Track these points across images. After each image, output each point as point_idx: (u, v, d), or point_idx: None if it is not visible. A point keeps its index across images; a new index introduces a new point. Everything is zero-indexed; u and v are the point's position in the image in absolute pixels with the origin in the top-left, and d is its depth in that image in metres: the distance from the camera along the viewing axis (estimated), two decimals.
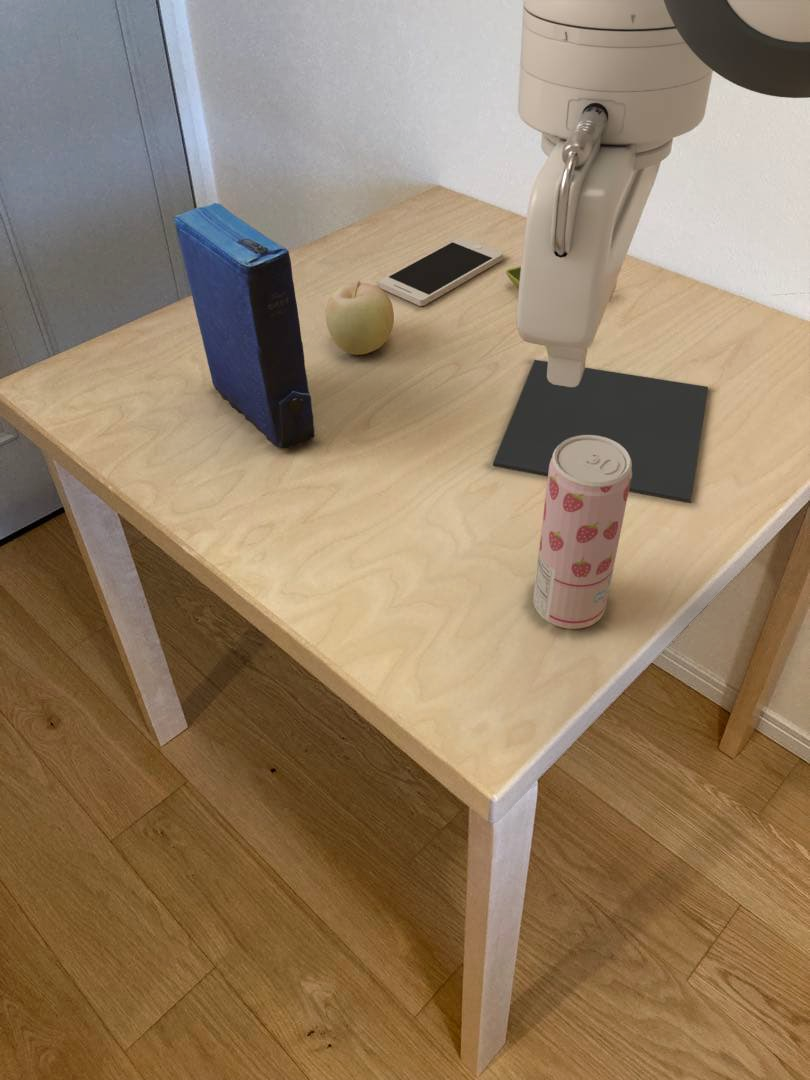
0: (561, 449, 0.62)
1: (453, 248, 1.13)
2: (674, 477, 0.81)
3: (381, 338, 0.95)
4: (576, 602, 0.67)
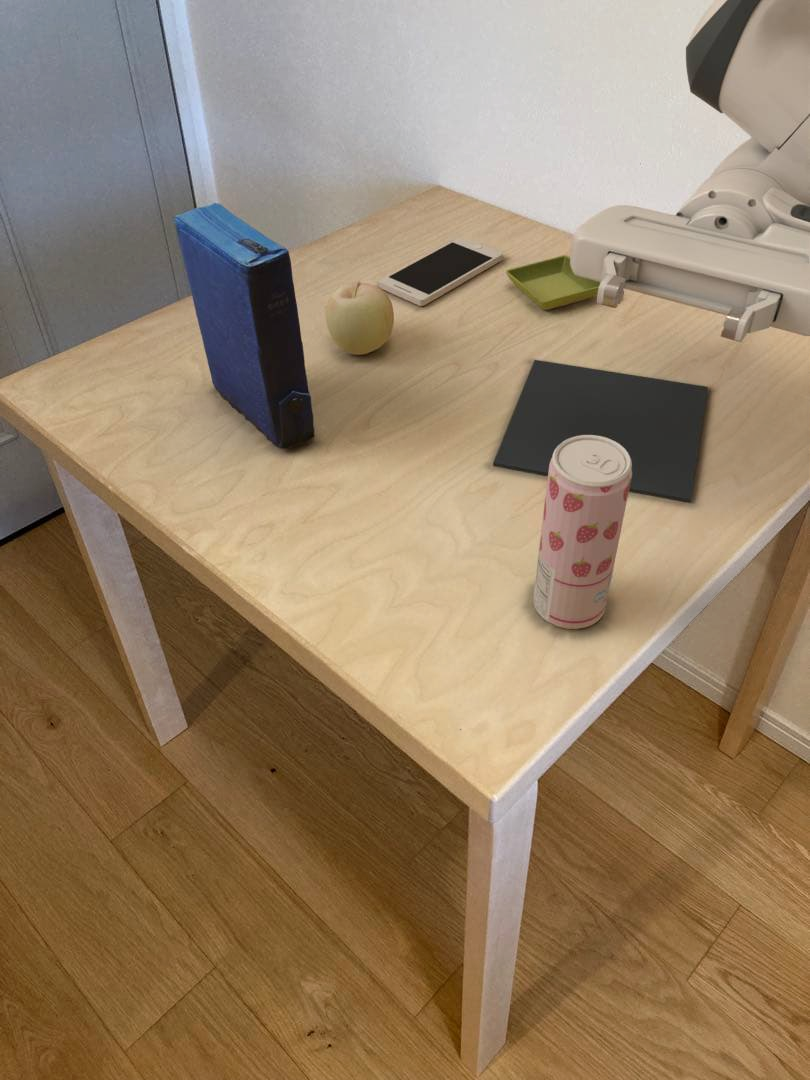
0: (561, 449, 0.62)
1: (453, 248, 1.13)
2: (674, 477, 0.81)
3: (381, 338, 0.95)
4: (576, 602, 0.67)
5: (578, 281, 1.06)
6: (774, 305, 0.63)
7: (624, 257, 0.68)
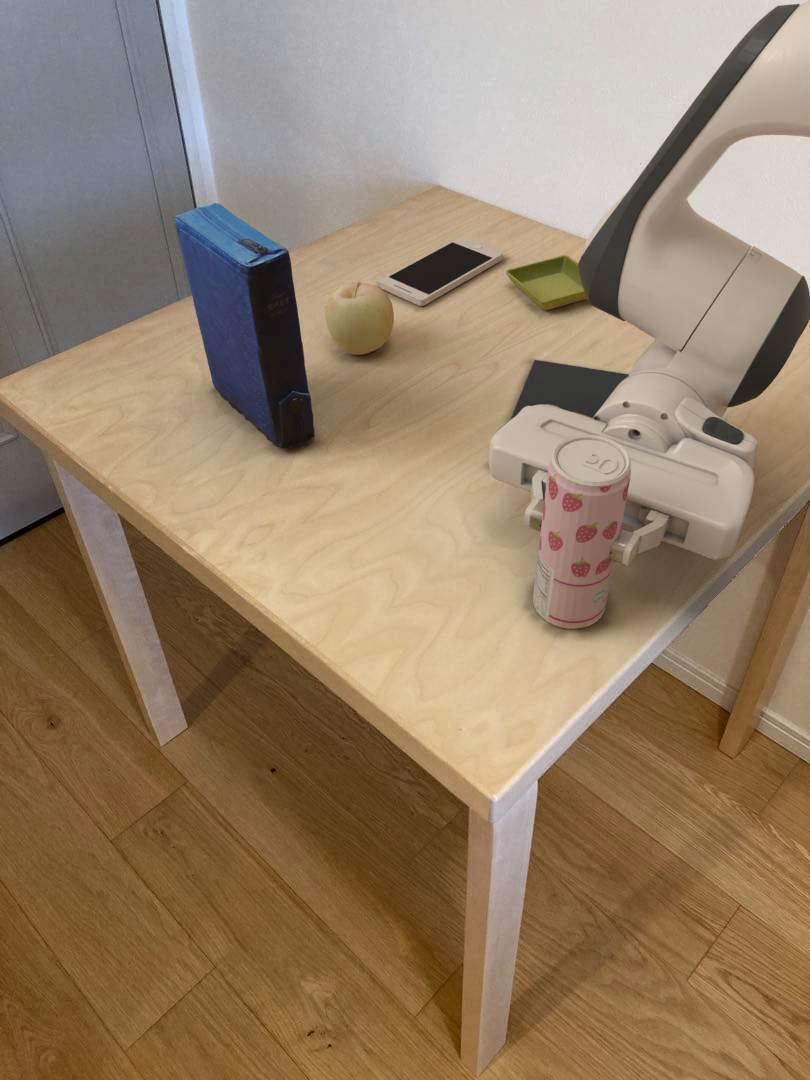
0: (560, 449, 0.62)
1: (453, 248, 1.13)
2: None
3: (381, 338, 0.95)
4: (575, 602, 0.67)
5: (578, 281, 1.06)
6: (661, 528, 0.64)
7: None
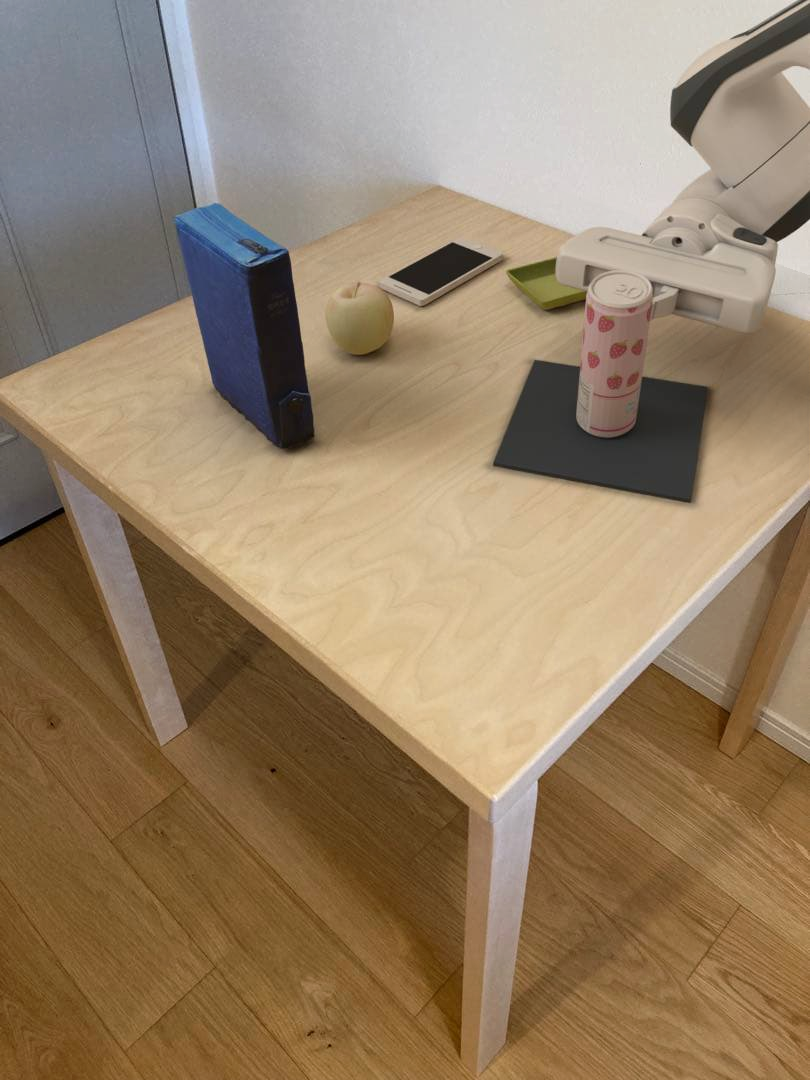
0: (595, 282, 0.77)
1: (453, 248, 1.13)
2: (674, 477, 0.81)
3: (381, 338, 0.95)
4: (611, 412, 0.83)
5: None
6: (672, 297, 0.81)
7: None
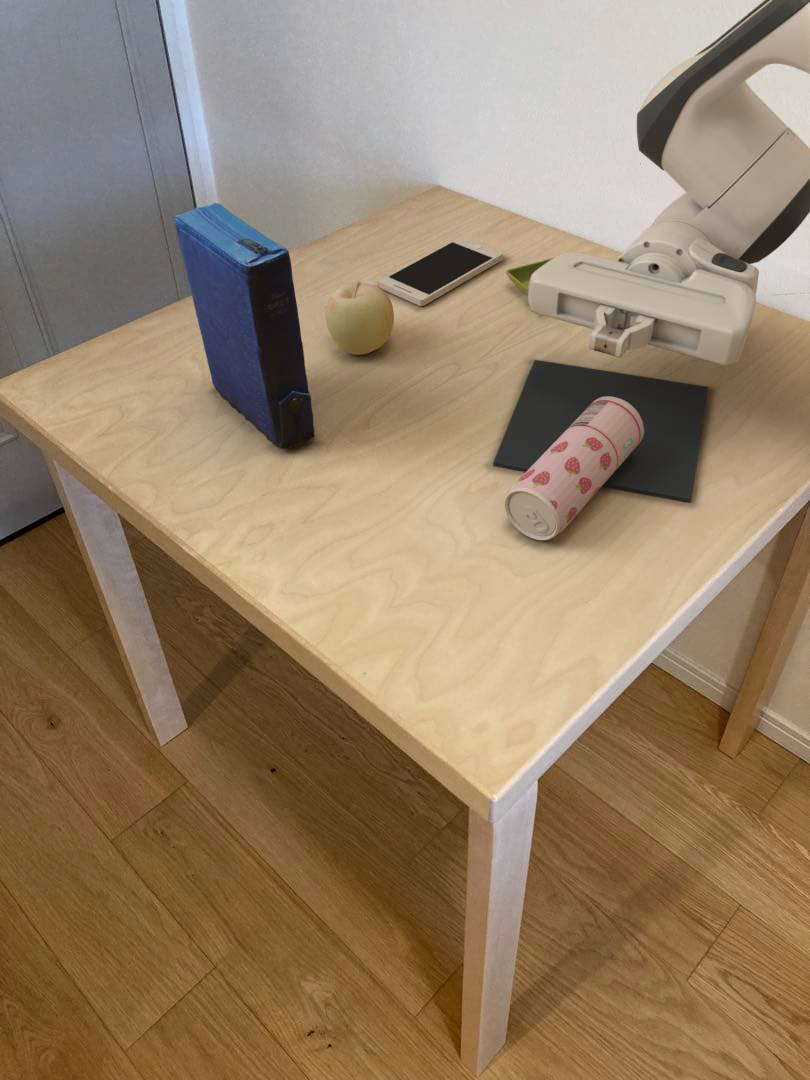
0: (515, 493, 0.74)
1: (453, 248, 1.13)
2: (674, 477, 0.81)
3: (381, 338, 0.95)
4: None
5: None
6: (648, 327, 0.78)
7: (613, 309, 0.80)
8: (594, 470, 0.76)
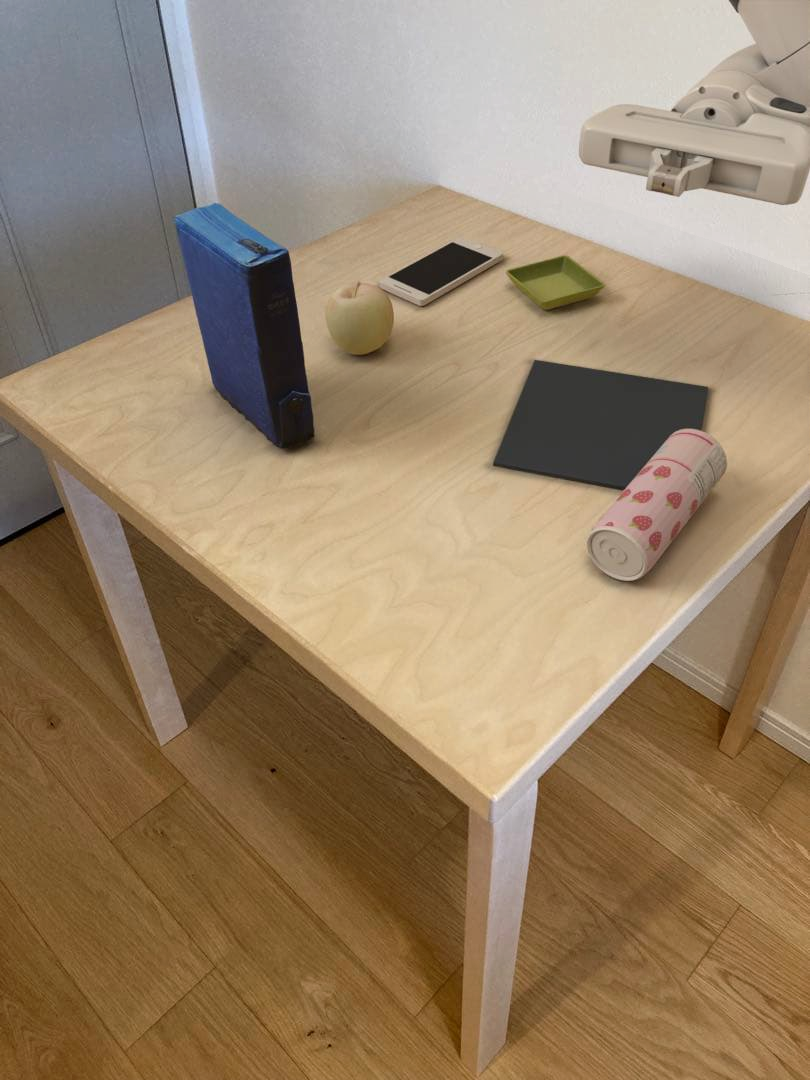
0: (639, 572, 0.71)
1: (453, 248, 1.13)
2: None
3: (381, 338, 0.95)
4: (681, 448, 0.75)
5: (578, 281, 1.06)
6: (707, 166, 0.76)
7: (669, 151, 0.78)
8: None
